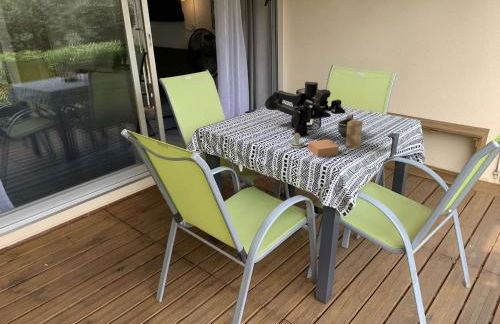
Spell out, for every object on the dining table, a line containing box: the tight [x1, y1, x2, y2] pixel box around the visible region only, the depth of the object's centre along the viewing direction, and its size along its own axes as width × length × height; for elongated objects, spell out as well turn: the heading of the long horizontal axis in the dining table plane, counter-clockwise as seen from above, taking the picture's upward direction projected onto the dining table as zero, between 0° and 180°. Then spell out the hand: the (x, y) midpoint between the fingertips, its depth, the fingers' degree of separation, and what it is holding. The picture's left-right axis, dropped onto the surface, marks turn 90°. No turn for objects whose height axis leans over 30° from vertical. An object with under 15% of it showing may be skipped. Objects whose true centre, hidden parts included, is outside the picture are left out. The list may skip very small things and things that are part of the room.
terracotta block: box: [307, 139, 339, 158], centre depth 167 cm, size 10×10×4 cm
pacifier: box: [288, 133, 305, 149], centre depth 175 cm, size 7×6×6 cm
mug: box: [337, 113, 355, 137], centre depth 187 cm, size 10×12×10 cm
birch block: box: [345, 119, 363, 150], centre depth 171 cm, size 5×5×12 cm
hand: (337, 113), depth 165 cm, fingers open, 9 cm apart
